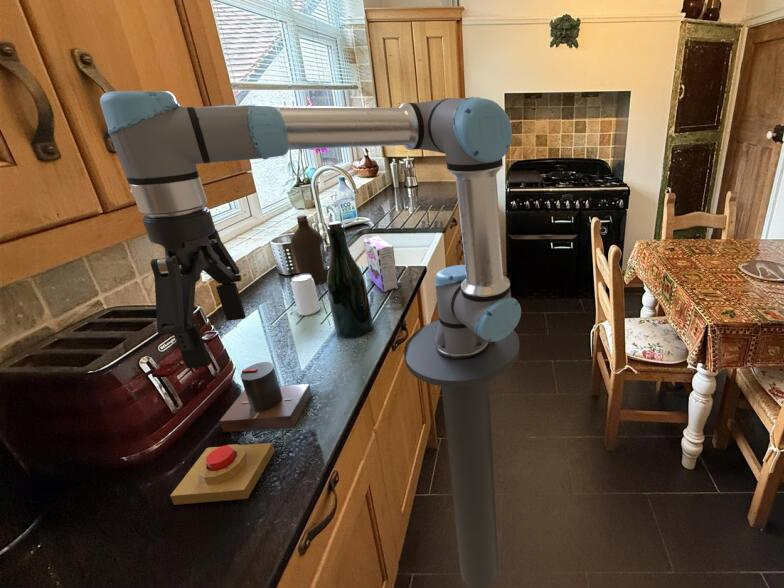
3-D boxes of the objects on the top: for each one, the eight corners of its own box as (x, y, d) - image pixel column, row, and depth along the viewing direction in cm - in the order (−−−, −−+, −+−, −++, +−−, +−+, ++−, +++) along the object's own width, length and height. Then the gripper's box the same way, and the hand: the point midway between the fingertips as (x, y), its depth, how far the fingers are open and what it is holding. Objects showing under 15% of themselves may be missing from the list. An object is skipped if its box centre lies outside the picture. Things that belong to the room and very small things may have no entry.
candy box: (369, 280, 151) (363, 238, 145) (384, 275, 155) (378, 235, 149) (383, 292, 141) (376, 249, 135) (399, 288, 144) (393, 245, 138)
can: (323, 306, 133) (316, 273, 128) (314, 316, 127) (306, 281, 122) (304, 306, 133) (296, 273, 128) (294, 316, 127) (285, 281, 122)
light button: (240, 451, 74) (237, 444, 73) (227, 470, 70) (224, 462, 69) (217, 453, 73) (214, 446, 73) (203, 472, 70) (200, 464, 69)
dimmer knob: (287, 390, 90) (278, 359, 86) (274, 410, 84) (264, 377, 81) (259, 392, 89) (249, 361, 86) (244, 412, 84) (233, 379, 81)
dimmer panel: (312, 394, 93) (309, 383, 92) (293, 427, 83) (289, 415, 82) (249, 398, 92) (245, 387, 91) (222, 432, 82) (218, 420, 81)
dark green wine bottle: (373, 335, 116) (354, 225, 104) (334, 341, 113) (310, 230, 101) (373, 317, 125) (356, 215, 113) (337, 323, 122) (315, 219, 110)
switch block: (275, 451, 78) (270, 435, 76) (247, 498, 69) (241, 481, 67) (210, 456, 77) (204, 440, 76) (173, 505, 68) (166, 488, 66)
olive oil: (300, 288, 146) (284, 222, 137) (299, 277, 155) (285, 214, 145) (331, 281, 150) (318, 217, 141) (329, 272, 159) (317, 210, 150)
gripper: (189, 193, 66) (225, 306, 74) (76, 241, 44) (145, 396, 52) (240, 190, 68) (270, 301, 76) (155, 235, 45) (211, 386, 53)
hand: (219, 340), depth 64 cm, fingers open, 13 cm apart
